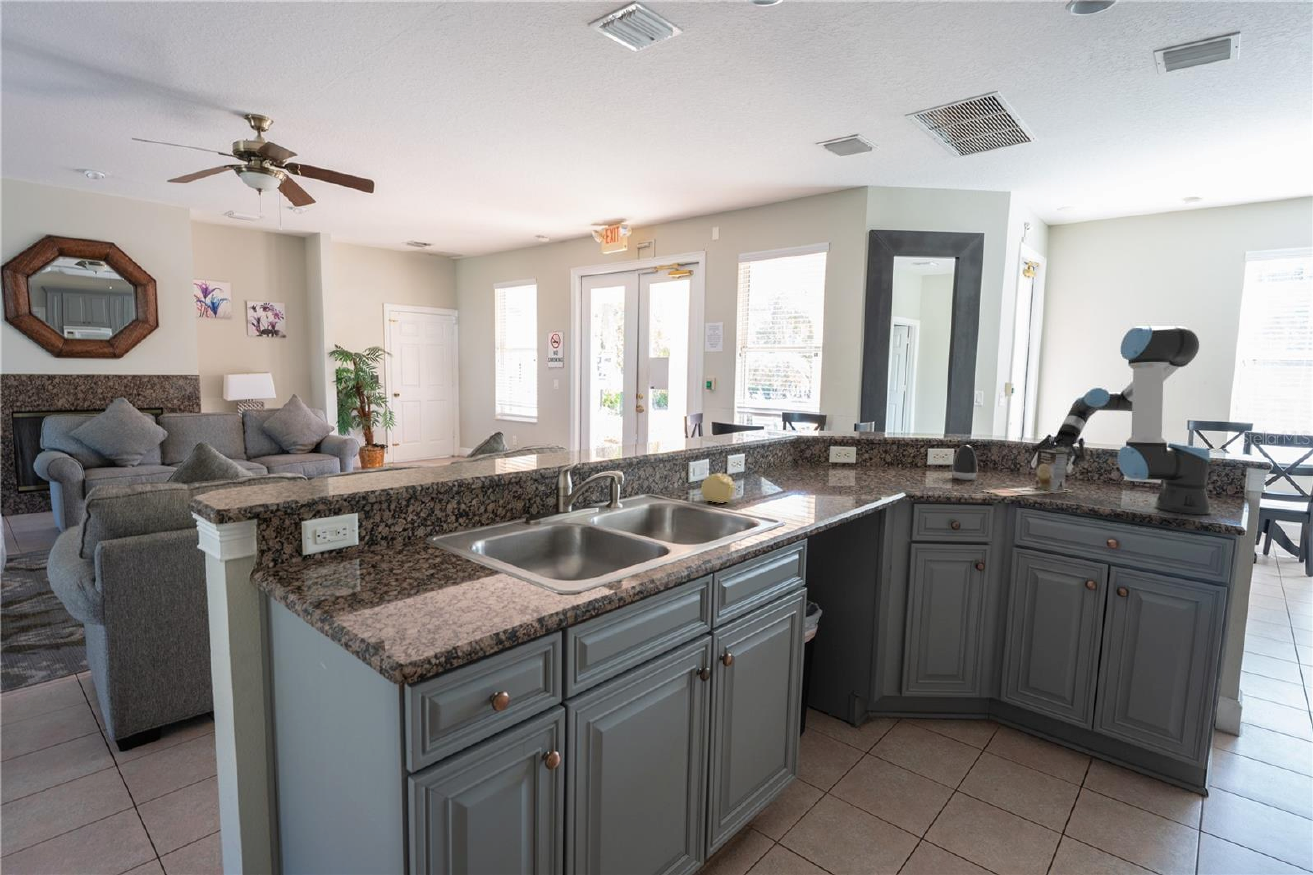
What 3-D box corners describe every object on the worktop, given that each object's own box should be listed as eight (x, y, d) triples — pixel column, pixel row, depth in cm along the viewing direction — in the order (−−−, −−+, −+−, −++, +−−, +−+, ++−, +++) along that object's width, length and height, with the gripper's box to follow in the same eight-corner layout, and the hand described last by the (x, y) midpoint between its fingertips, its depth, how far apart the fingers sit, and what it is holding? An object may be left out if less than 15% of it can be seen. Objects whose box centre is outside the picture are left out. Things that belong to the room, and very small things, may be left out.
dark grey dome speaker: (972, 477, 292) (975, 443, 290) (980, 481, 282) (982, 446, 280) (948, 476, 294) (950, 443, 292) (954, 480, 284) (957, 446, 282)
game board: (1073, 492, 262) (1073, 490, 262) (1005, 497, 250) (1005, 495, 250) (1047, 486, 273) (1047, 485, 272) (981, 491, 261) (981, 490, 261)
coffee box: (1033, 488, 269) (1036, 449, 267) (1046, 487, 270) (1049, 449, 268) (1051, 492, 260) (1055, 452, 258) (1065, 492, 262) (1068, 452, 260)
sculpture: (733, 506, 230) (734, 476, 229) (699, 504, 232) (699, 474, 231) (735, 499, 241) (736, 470, 240) (702, 498, 243) (703, 469, 242)
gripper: (1107, 438, 263) (1086, 479, 256) (1042, 432, 283) (1021, 469, 277) (1102, 426, 259) (1080, 466, 253) (1037, 420, 280) (1015, 458, 273)
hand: (1049, 468), depth 265 cm, fingers open, 13 cm apart
